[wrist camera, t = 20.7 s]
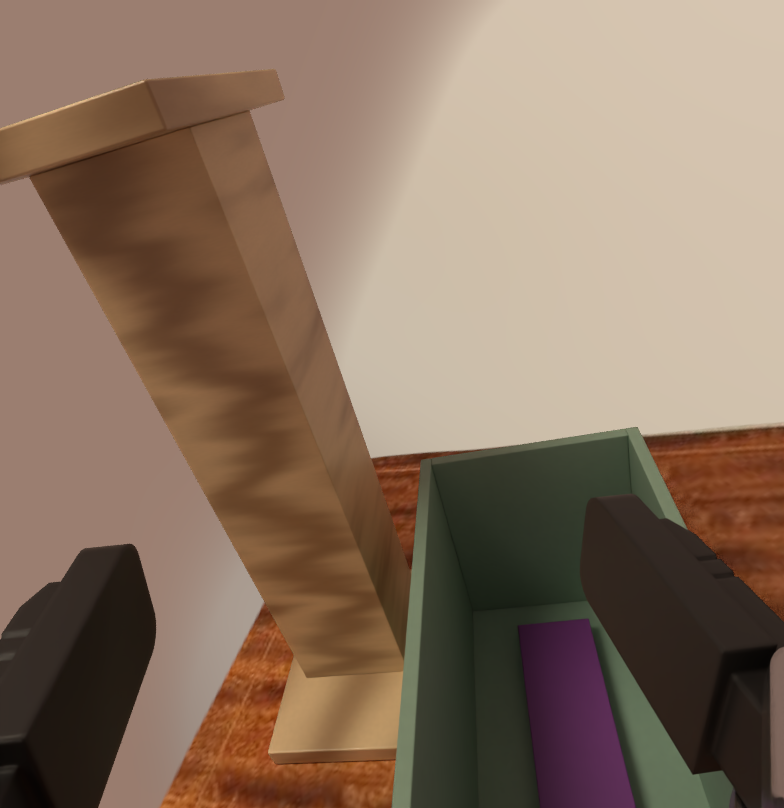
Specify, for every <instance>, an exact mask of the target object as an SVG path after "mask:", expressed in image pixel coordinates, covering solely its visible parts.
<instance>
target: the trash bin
mask: <svg viewBox="0 0 784 808" xmlns="http://www.w3.org/2000/svg"><path fill="white" fill-rule="evenodd" d="M623 494H635V495H636V496H638V497H639V498H640V499H641V500H642V501H643V503H644V504H645V505H646V506H647V507H648V508H649V509H650V510H651V511H652V512H653V513H654V514H655V515H656V516H657V517H658V518H659V519H664V518H668V519H669V520H671V521H673V522H675V523H677V524H678V525H680V526H682V527H684V528H685V529H687V527H686V525H685V523H684V521H683V519H682V517H681V515H680V513H679V511H678V509H677V507H676V505H675V503H674V501H673V499H672V497H671V494H670V492H669V490H668V488H667V486H666V484H665V482H664V480H663V478H662V476H661V474H660V472H659V470H658V468H657V466H656V464H655V462H654V460H653V458H652V456H651V454H650V452H649V449H648V447H647V445H646V443H645V441H644V439H643V437H642V435H641V433H640V431H639V429H638V427H633V428H626V429H620V430H613V431H607V432H600V433H594V434H587V435H581V436H575V437H568V438H562V439H555V440H548V441H542V442H535V443H529V444H522V445H516V446H509V447H502V448H496V449H489V450H483V451H476V452H470V453H463V454H457V455H450V456H444V457H437V458H432V459H425V460H421V466H420V478H419V490H418V502H417V514H416V526H415V538H414V550H413V561H412V573H411V585H410V597H409V609H408V621H407V633H406V644H405V656H404V668H403V680H402V692H401V704H400V716H399V728H398V739H397V751H396V763H395V775H394V787H393V799H392V808H540V804H539V796H538V788H537V779H536V771H535V763H534V755H533V747H532V739H531V731H530V723H529V715H528V706H527V698H526V690H525V682H524V674H523V666H522V658H521V650H520V642H519V633H518V625H526V624H536V623H546V622H557V621H567V620H578V619H589V622H590V626H591V630H592V634H593V638H594V642H595V646H596V650H597V654H598V658H599V662H600V665H601V669H602V673H603V677H604V681H605V685H606V689H607V693H608V697H609V701H610V705H611V709H612V713H613V717H614V721H615V725H616V729H617V733H618V737H619V741H620V745H621V749H622V753H623V757H624V761H625V765H626V769H627V773H628V777H629V781H630V785H631V789H632V793H633V797H634V801H635V805H636V808H729V801H730V795H731V792H732V789H733V786H732V784H731V783H730V781H729V780H728V778H727V777H726V775H725V774H724V772H723V771H715V772H708V773H701V774H695V775H692V773H691V771H690V770H689V768H688V766H687V765H686V763H685V762H684V760H683V758H682V757H681V755H680V753H679V752H678V750H677V748H676V747H675V745H674V743H673V742H672V740H671V738H670V737H669V735H668V733H667V732H666V730H665V728H664V727H663V725H662V723H661V722H660V720H659V719H658V717H657V715H656V714H655V712H654V710H653V709H652V707H651V705H650V704H649V702H648V700H647V699H646V697H645V695H644V694H643V692H642V690H641V689H640V687H639V685H638V684H637V682H636V680H635V679H634V677H633V675H632V674H631V672H630V671H629V669H628V667H627V666H626V664H625V662H624V661H623V659H622V657H621V656H620V654H619V652H618V651H617V649H616V647H615V646H614V644H613V642H612V641H611V639H610V637H609V636H608V634H607V632H606V631H605V629H604V627H603V626H602V624H601V623H600V621H599V619H598V618H597V616H596V614H595V613H594V611H593V609H592V608H591V606H590V604H589V603H588V601H587V599H586V596H585V594H584V591H583V588H582V584H581V578H580V558H581V549H582V540H583V531H584V521H585V512H586V506H587V503H588V501H589V500H590V499H591V498H594V497H603V496H613V495H623ZM687 530H688V529H687Z"/></svg>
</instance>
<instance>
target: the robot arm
mask: <svg viewBox="0 0 784 808" xmlns="http://www.w3.org/2000/svg"><path fill="white" fill-rule="evenodd" d="M580 578H581V584H582V588H583V591H584V594H585V596H586V599H587V601H588V603H589V604H590V606H591V608H592V609H593V611H594V613H595V614H596V616H597V618H598V619H599V621H600V623H601V624H602V626H603V627H604V629H605V631H606V632H607V634H608V636H609V637H610V639H611V641H612V642H613V644H614V646H615V647H616V649H617V651H618V652H619V654H620V656H621V657H622V659H623V661H624V662H625V664H626V666H627V667H628V669H629V671H630V672H631V674H632V675H633V677H634V679H635V680H636V682H637V684H638V685H639V687H640V689H641V690H642V692H643V694H644V695H645V697H646V699H647V700H648V702H649V704H650V705H651V707H652V709H653V710H654V712H655V714H656V715H657V717H658V719H659V720H660V722H661V723H662V725H663V727H664V728H665V730H666V732H667V733H668V735H669V737H670V738H671V740H672V742H673V743H674V745H675V747H676V748H677V750H678V752H679V753H680V755H681V757H682V758H683V760H684V762H685V763H686V765H687V766H688V768H689V770H690V771H691V773H692V775H695V774H701V773H708V772H715V771H723V772H724V774H725V775H726V777H727V778H728V780H729V781H730V783H731V784H732V786H733V789H732V792H731V795H730V801H729V808H784V622H783V621H782V620H781V619H780V618H779V617H778V616H777V615H776V614H775V613H774V612H773V611H772V610H771V609H770V608H769V607H768V606H767V605H766V604H765V603H764V602H763V601H762V600H761V599H760V598H759V597H758V596H757V595H756V594H755V593H754V592H753V591H752V590H751V589H750V588H749V587H748V586H747V585H746V584H745V583H744V582H743V581H742V580H741V579H740V578H739V577H735V576H734V572H733V571H732V570H731V569H730V568H729V567H728V566H727V565H726V564H725V563H724V562H723V561H722V560H721V559H717V558H716V554H715V553H714V552H713V551H712V550H711V549H710V548H709V547H708V546H707V545H706V544H705V543H704V542H703V541H702V540H701V539H700V538H699V537H698V536H697V535H696V534H694V533H692V532H691V531H689V530H687V529H685V528H684V527H682V526H680V525H678V524H677V523H675V522H673V521H671V520H669V519H668V518H664V519H659V518H658V517H657V516H656V515H655V514H654V513H653V512H652V511H651V510H650V509H649V508H648V507H647V506H646V505H645V504H644V503H643V501H642V500H641V499H640V498H639V497H638V496H636V495H635V494H623V495H613V496H603V497H594V498H591V499H590V500H589V501H588V503H587V506H586V512H585V521H584V531H583V540H582V549H581V558H580ZM155 638H156V618H155V612H154V609H153V605H152V601H151V598H150V594H149V590H148V587H147V583H146V579H145V576H144V572H143V568H142V565H141V561H140V558H139V555H138V551H137V549H136V548H135V546H134V545H132V544H124V545H114V546H104V547H94V548H85V549H83V550H82V551H80V553H79V554H78V556H77V557H76V559H75V560H74V562H73V563H72V565H71V567H70V568H69V570H68V571H67V573H66V574H65V576H64V578H63V579H62V581H61V582H53V583H48V584H47V585H46V586H45V587H44V588H42V589H41V590H40V591H39V592H38V593H36V594H35V595H34V596H33V597H32V598H31V599H29V600H28V601H27V602H26V603H24V604H23V605H22V606H21V607H20V608H19V610H18V611H17V612H16V614H15V615H14V617H13V618H12V620H11V621H10V623H9V624H8V625H7V627H6V629H5V630H4V631H3V633H2V638H1V640H0V808H98V806H99V804H100V801H101V798H102V795H103V792H104V789H105V786H106V784H107V781H108V777H109V775H110V772H111V769H112V767H113V764H114V761H115V758H116V755H117V752H118V749H119V747H120V744H121V741H122V738H123V735H124V732H125V730H126V726H127V724H128V721H129V718H130V715H131V712H132V710H133V706H134V704H135V701H136V698H137V695H138V693H139V690H140V687H141V684H142V681H143V678H144V675H145V673H146V670H147V667H148V664H149V661H150V658H151V656H152V653H153V649H154V645H155Z"/></svg>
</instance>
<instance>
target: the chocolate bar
mask: <svg viewBox="0 0 784 808" xmlns="http://www.w3.org/2000/svg"><path fill="white" fill-rule="evenodd" d="M518 633H519V642H520V650H521V658H522V666H523V674H524V682H525V690H526V698H527V706H528V715H529V723H530V731H531V739H532V747H533V755H534V763H535V771H536V779H537V788H538V796H539V804H540V808H636V805H635V801H634V797H633V793H632V789H631V785H630V781H629V777H628V773H627V769H626V765H625V761H624V757H623V753H622V749H621V745H620V741H619V737H618V733H617V729H616V725H615V721H614V717H613V713H612V709H611V705H610V701H609V697H608V693H607V689H606V685H605V681H604V677H603V673H602V669H601V665H600V662H599V658H598V654H597V650H596V646H595V642H594V638H593V634H592V630H591V626H590V622H589V619H578V620H567V621H557V622H546V623H536V624H526V625H518Z"/></svg>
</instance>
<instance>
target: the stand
mask: <svg viewBox="0 0 784 808" xmlns="http://www.w3.org/2000/svg"><path fill="white" fill-rule="evenodd" d="M281 100H284V94H283V91H282V88H281V85H280V82H279V78H278V75H277V72H276V70H275V69H268V70H255V71H244V72H231V73H220V74H207V75H195V76H182V77H170V78H158V79H146V80H142V81H139V82H136V83H133V84H130V85H127V86H124V87H121V88H118V89H115V90H112V91H109V92H106V93H103V94H100V95H97V96H94V97H91V98H89V99H85V100H83V101H80V102H77V103H74V104H71V105H68V106H65V107H62V108H59V109H56V110H53V111H50V112H47V113H44V114H41V115H38V116H35V117H32V118H29V119H26V120H23V121H21V122H17V123H15V124H12V125H8V126H5V127H3V128H0V185H3V184H6V183H10V182H14V181H17V180H20V179H24V178H27V177H30V179H31V181H32V183H33V185H34V187H35V188H36V190H37V192H38V194H39V196H40V198H41V199H42V201H43V203H44V205H45V206H46V208H47V210H48V212H49V214H50V215H51V217H52V219H53V221H54V223H55V225H56V226H57V228H58V230H59V232H60V234H61V235H62V237H63V239H64V241H65V242H66V244H67V246H68V248H69V250H70V252H71V254H72V255H73V257H74V259H75V261H76V263H77V264H78V266H79V268H80V270H81V272H82V273H83V275H84V277H85V279H86V281H87V282H88V284H89V286H90V288H91V290H92V291H93V293H94V295H95V297H96V299H97V300H98V302H99V304H100V306H101V307H102V309H103V311H104V313H105V315H106V317H107V318H108V320H109V322H110V324H111V325H112V328H113V329H114V331H115V333H116V335H117V336H118V338H119V340H120V342H121V344H122V346H123V347H124V349H125V351H126V353H127V354H128V356H129V358H130V360H131V362H132V364H133V365H134V367H135V369H136V371H137V373H138V374H139V376H140V378H141V380H142V382H143V383H144V385H145V387H146V389H147V391H148V392H149V394H150V396H151V398H152V400H153V401H154V403H155V405H156V407H157V409H158V411H159V412H160V414H161V416H162V418H163V420H164V421H165V423H166V425H167V427H168V428H169V430H170V432H171V434H172V435H173V438H174V439H175V441H176V443H177V445H178V446H179V448H180V450H181V452H182V454H183V456H184V457H185V459H186V461H187V463H188V465H189V466H190V468H191V470H192V472H193V474H194V475H195V477H196V479H197V481H198V483H199V484H200V486H201V488H202V490H203V492H204V494H205V495H206V497H207V499H208V501H209V503H210V504H211V506H212V508H213V510H214V512H215V513H216V515H217V517H218V519H219V521H220V522H221V524H222V526H223V528H224V530H225V531H226V533H227V535H228V537H229V539H230V540H231V542H232V544H233V546H234V548H235V549H236V551H237V553H238V555H239V557H240V559H241V560H242V562H243V564H244V566H245V568H246V569H247V571H248V573H249V575H250V577H251V578H252V580H253V582H254V584H255V586H256V587H257V589H258V591H259V593H260V595H261V596H262V598H263V600H264V602H265V604H266V605H267V607H268V609H269V611H270V613H271V614H272V616H273V618H274V620H275V622H276V623H277V625H278V627H279V629H280V631H281V633H282V634H283V636H284V638H285V640H286V642H287V643H288V645H289V647H290V649H291V651H292V652H293V654H294V657H293V661H292V665H291V668H290V672H289V676H288V679H287V683H286V687H285V691H284V694H283V698H282V702H281V706H280V709H279V713H278V717H277V720H276V724H275V728H274V732H273V735H272V739H271V743H270V747H269V750H268V754H269V756H270V757H271V759H272V760H273V761H274V763H275V764H287V763H314V762H341V761H368V760H395V759H396V751H397V739H398V728H399V716H400V704H401V692H402V680H403V668H404V656H405V644H406V633H407V621H408V609H409V597H410V585H411V573H412V570H410V569H409V566H408V563H407V561H406V558H405V555H404V552H403V549H402V546H401V543H400V541H399V538H398V535H397V532H396V529H395V526H394V523H393V521H392V518H391V515H390V512H389V509H388V506H387V503H386V500H385V498H384V495H383V492H382V489H381V486H380V483H379V480H378V478H377V475H376V472H375V469H374V466H373V463H372V460H371V458H370V455H369V452H368V449H367V446H366V443H365V440H364V438H363V435H362V432H361V429H360V426H359V423H358V420H357V417H356V415H355V412H354V409H353V406H352V403H351V400H350V397H349V395H348V392H347V389H346V386H345V383H344V381H343V377H342V374H341V372H340V369H339V366H338V363H337V360H336V357H335V354H334V352H333V349H332V346H331V343H330V340H329V337H328V334H327V332H326V329H325V326H324V323H323V320H322V317H321V314H320V311H319V309H318V306H317V303H316V300H315V297H314V294H313V291H312V289H311V286H310V283H309V280H308V277H307V274H306V271H305V269H304V266H303V263H302V260H301V257H300V254H299V252H298V249H297V246H296V243H295V240H294V237H293V234H292V231H291V228H290V226H289V223H288V220H287V217H286V214H285V211H284V208H283V206H282V203H281V200H280V197H279V194H278V192H277V189H276V185H275V183H274V180H273V177H272V174H271V171H270V168H269V166H268V163H267V160H266V157H265V154H264V151H263V149H262V145H261V143H260V140H259V137H258V134H257V131H256V128H255V125H254V122H253V120H252V117H251V114H250V111H249V110H252V109H256V108H259V107H262V106H265V105H268V104H272V103H275V102H278V101H281Z"/></svg>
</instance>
